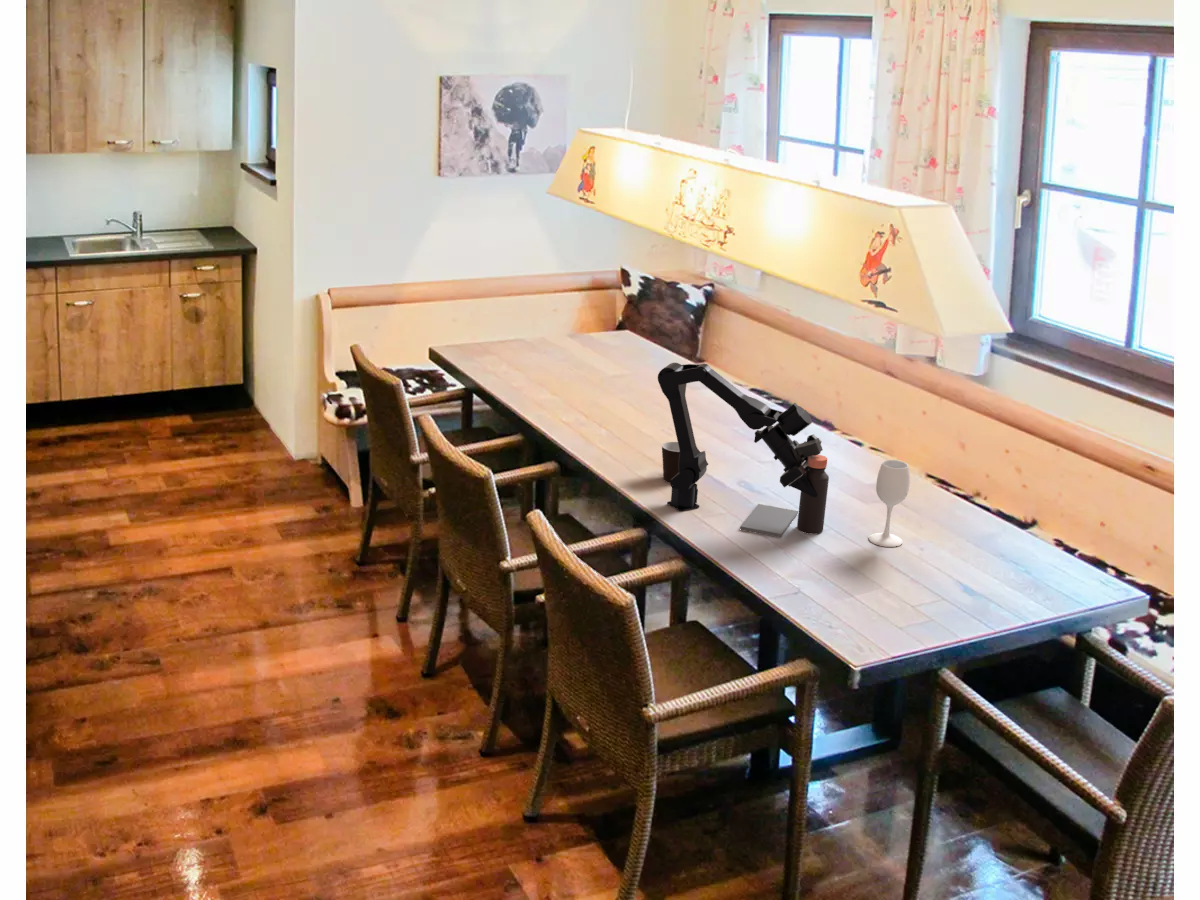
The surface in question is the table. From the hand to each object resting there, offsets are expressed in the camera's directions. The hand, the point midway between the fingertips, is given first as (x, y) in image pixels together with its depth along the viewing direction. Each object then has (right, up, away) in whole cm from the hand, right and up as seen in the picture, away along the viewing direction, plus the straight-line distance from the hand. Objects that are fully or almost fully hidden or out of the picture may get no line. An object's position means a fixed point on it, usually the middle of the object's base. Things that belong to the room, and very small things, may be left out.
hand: (819, 492), depth 336 cm
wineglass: (+17, -13, -1) cm, 21 cm away
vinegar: (-2, -10, +4) cm, 11 cm away
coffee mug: (-34, +3, +36) cm, 50 cm away
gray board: (-12, -8, +8) cm, 16 cm away
